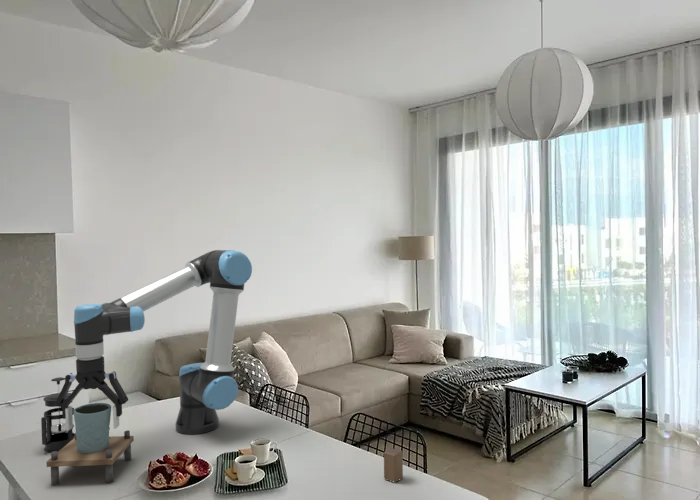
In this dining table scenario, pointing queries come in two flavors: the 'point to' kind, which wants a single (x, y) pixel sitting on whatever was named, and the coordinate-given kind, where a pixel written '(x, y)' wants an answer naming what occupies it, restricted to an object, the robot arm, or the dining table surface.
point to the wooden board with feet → (91, 456)
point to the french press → (59, 430)
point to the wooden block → (393, 464)
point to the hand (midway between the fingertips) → (93, 428)
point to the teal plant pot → (92, 427)
